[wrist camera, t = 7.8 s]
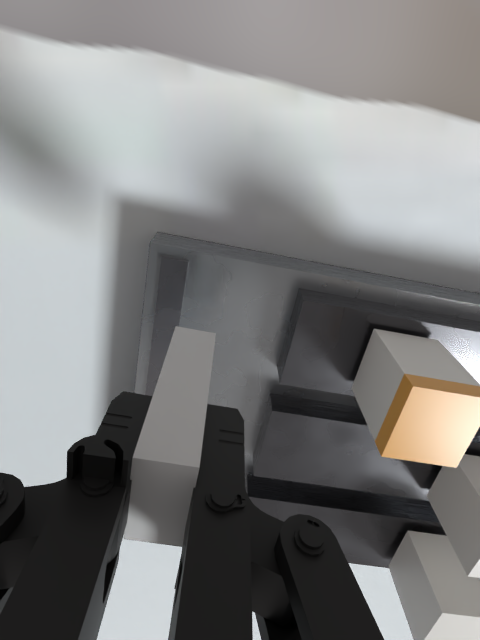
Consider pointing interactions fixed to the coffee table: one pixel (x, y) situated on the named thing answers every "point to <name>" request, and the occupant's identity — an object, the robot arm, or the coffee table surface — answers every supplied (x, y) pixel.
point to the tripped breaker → (417, 399)
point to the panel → (263, 313)
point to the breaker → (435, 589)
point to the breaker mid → (460, 509)
